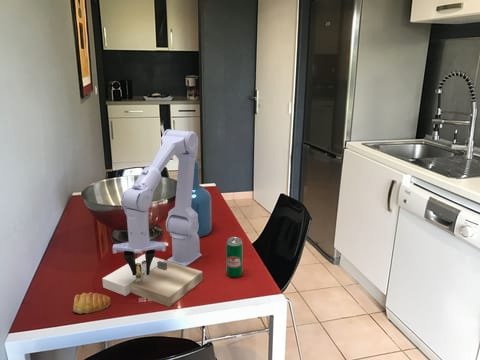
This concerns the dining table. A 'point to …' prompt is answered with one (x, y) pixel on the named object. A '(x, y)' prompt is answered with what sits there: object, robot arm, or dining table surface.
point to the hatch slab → (167, 283)
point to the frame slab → (125, 277)
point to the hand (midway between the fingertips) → (141, 273)
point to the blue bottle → (201, 204)
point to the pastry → (90, 302)
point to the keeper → (162, 265)
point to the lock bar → (140, 270)
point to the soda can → (234, 257)
